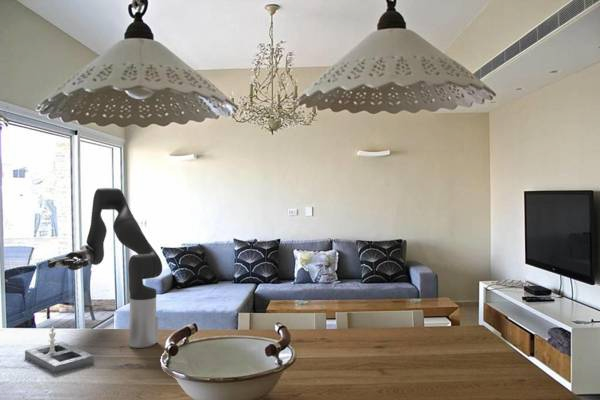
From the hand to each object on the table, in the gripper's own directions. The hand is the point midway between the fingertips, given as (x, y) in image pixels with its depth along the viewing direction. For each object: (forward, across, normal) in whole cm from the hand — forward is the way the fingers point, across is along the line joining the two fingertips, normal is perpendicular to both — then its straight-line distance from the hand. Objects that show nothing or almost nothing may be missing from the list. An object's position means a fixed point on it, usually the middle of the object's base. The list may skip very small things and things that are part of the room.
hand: (61, 265), depth 167 cm
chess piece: (+20, +5, +28) cm, 35 cm away
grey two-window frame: (+24, +8, +28) cm, 38 cm away
